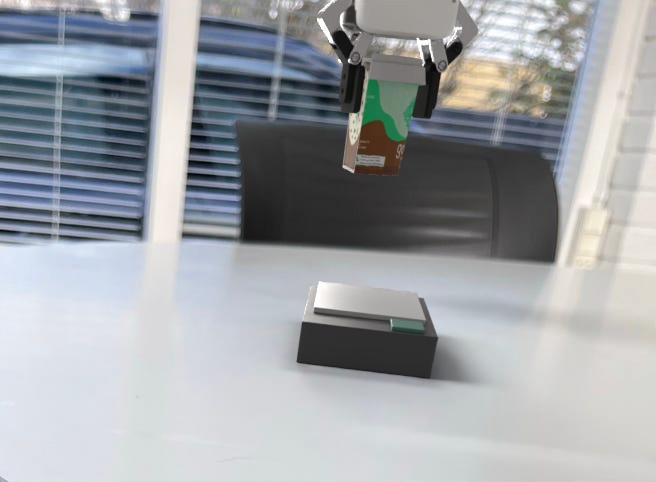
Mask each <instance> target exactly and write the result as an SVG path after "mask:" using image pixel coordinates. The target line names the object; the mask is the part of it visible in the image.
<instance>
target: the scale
mask: <svg viewBox="0 0 656 482" xmlns="http://www.w3.org/2000/svg"><path fill="white" fill-rule="evenodd" d="M438 340H439V337H438V333H437V331H436V328H435V325H434V322H433V320H432V317H431V314H430V311H429V309H428V306H427V304H426V300H425V298H424V297H419V295H418V293H417V292H416V291H407V290H399V289H389V288H380V287H372V286H364V285H356V284H354V285H353V284H346V283H336V282H327V281H319V282H318V285H313V284H311V285H310V287H309V291H308V295H307V300H306V304H305V308H304V311H303V315H302V320H301V325H300V332H299V340H298V347H297V353H296V354H297V355H296V363H301V364H308V365H309V364H311V365H319V366H327V367H334V368H342V369H352V370H357V371H359V370H360V371H367V372H376V373H385V374H392V375H399V376H410V377H417V378H425V379H430V378H431V376H432V372H433V371H432V370H433V365H434V360H435V356H436V351H437V346H438Z"/></svg>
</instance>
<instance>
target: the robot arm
mask: <svg viewBox="0 0 656 482" xmlns="http://www.w3.org/2000/svg"><path fill="white" fill-rule="evenodd" d="M316 20H317V22H318V24H319V25H320V27H321V30H323V33H324V34H325V36H326V37H327V41H328V43H329V45H330V46H331V48H332V50H333V51H334V53H335V54H336V56H337V58H338V62H339V64H340V65H342V68H341V76H340V84H339V92H338V102H339V103H340V104H341V105H340V112H341V113H345V114H349V113H355V114H357V113H358V112H359V111H360V107H361V100H362V92H363V85H364V77H365V66H361V63H362V58H364V56H365V54H366V53H367V51H368V49H369V47H370V45H371V43H372V42H373V40H374V39H375V38H384V39H395V40H406V41H417V45H418V49H419V53H420V57H421V58H420V59H423V67H424V68H425V80H426V85H419V86H418V90H417V95H416V99H415V104H414V108H413V112H412V118H413V119H424V120H425V119H426V120H431V118H432V116H433V111H434V110H435V109H436V106H437V103H438V96H439V90H440V84H441V77H442V73H445V72H446V71H447V70H448V68H449V66H450V65H451V64H452V63H453V62H454V61H455V60H456V59H457V58H458V57H459V56H460V55H461V54H462V52H463V50H464V49H465V48H466V47H467V46H468V45H469V44H470V43H471V42H472V41H473V40H474V39H475V37H476V36H477V35H478V33H479V27H478V25H477V23H476V22H475V20H474V19H473V17H472V16H471V15H470V13H469V12H468V10H467V8H466V7H465V6H464V4H463V2H462V1H461V0H331V1H330V2H328V3H327V4H326V5H325V6H324V7H323V8H321V10H320V11H318V13H317V14H316ZM454 29H455V33H454V35H453V36H452V37H451V39H450V40H449V41H448V42H447V41H446V43H444V39H445V38H447V37H449V36H451V35H452V34H453V31H454ZM345 31H346V32H347V33H349V36H348V34H347V33H346V32H345Z"/></svg>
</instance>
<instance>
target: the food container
mask: <svg viewBox="0 0 656 482" xmlns="http://www.w3.org/2000/svg"><path fill="white" fill-rule="evenodd" d="M361 66H365V77H364V85H363V92H362V100H361V107H360V111H359V112H358V113H357V114H355V113H348V122H347V128H346V135H345V136H346V137H345V143H344V144H345V146H344V154H343V161H342V168H343V169H344V170H347V171H349V172H350V173H352V174H355V175H356V174H359V175H369V176H370V175H371V176H386V177H387V176H390V177H394V176H395V177H396V176H399V173H400V169H401V165H402V161H403V157H404V152H405V149H406V143H407V139H408V133H409V131H410V125H411V121H412V118H413V116H412V112H413V108H414V104H415V99H416V95H417V90H418V86H419V85H426V80H425V68H424V67H423V59H422V58H420V57H419V58H418V57H413V56H412V57H411V56H404V55H397V54H386V53H374V52H372V53H371V57H363V58H362V63H361Z"/></svg>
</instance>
